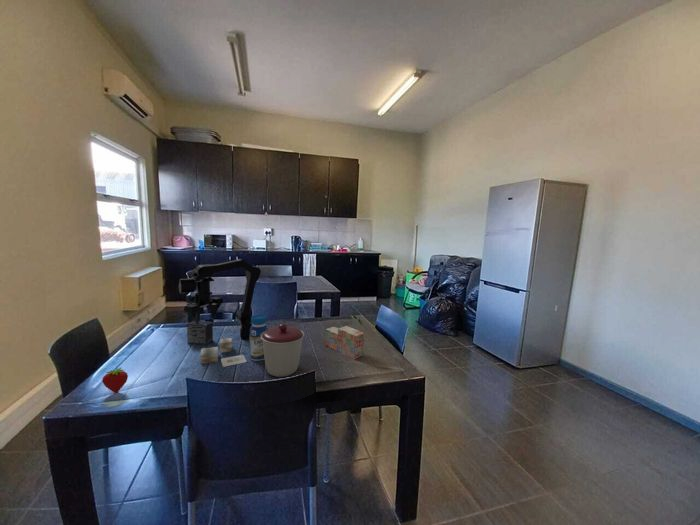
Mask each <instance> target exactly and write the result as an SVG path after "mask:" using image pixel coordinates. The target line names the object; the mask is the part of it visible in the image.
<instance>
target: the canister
mask: <svg viewBox="0 0 700 525" xmlns="http://www.w3.org/2000/svg"><path fill="white" fill-rule="evenodd" d="M304 337H305V332H304V331H303V330H301V329H299V328H297V327H296V326H291V325H287V324H286V323H281V324H279V325H278V326H273V327H270V328H268V330H266V331H264V332H263V333H262V334H261V339H262V341H263V350H264V366H265V370H266V371H267V373H268V374H269V375H271V376H273V377H277V378H279V377H281V378H282V377H288V376H291V375H293V374H294V373H295V372H296V371H297V370H298V368H299V364H300V360H301V359H300V358H301V351H302V346H303V345H302V344H303V338H304Z"/></svg>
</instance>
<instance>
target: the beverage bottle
mask: <svg viewBox="0 0 700 525" xmlns="http://www.w3.org/2000/svg"><path fill="white" fill-rule="evenodd" d="M251 324H252V326H251V328H250V335H249V338H248V339H249V359H250V360H252V361H255V362H258V361H259V362H260V361H265V359H264V350H263V341H262V339H261V334H262V333H263V332H264V331H266V330H268V329H269V328H268V327H267V315H265V314H260V313H259V314H253V315H251Z"/></svg>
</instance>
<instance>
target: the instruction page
mask: <svg viewBox="0 0 700 525" xmlns="http://www.w3.org/2000/svg"><path fill="white" fill-rule="evenodd" d="M220 361H221V362H220V363H221V365H222V367H223V368H225V367H229V366H235V365H240V364H245V363H247V362H248V361H247V359H246V357H245V355H244V354H239V355H235V356H234V355H233V356H229V357H223V358H220Z"/></svg>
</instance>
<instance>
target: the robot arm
mask: <svg viewBox="0 0 700 525" xmlns="http://www.w3.org/2000/svg"><path fill="white" fill-rule="evenodd" d="M238 268H240V269H242V270H243V271H245V278H246V279H245V280H246V284H245V288H244V293H243V299H242V304H241V307H240V309H236V313H235V314H236V315H235V316H234V317H235V318H236V321H237V322H238V324H240V326H241V327H240V328H239V337H240V338H241V340H246V339H249V335H250V328H251V326H252V324H251V317H252V310H251V307H252V302H253V298H254V292H255V288H256V283H258V280H259V279H260V277H261V274H262V270H261V269H260V267H257V266H256V265H252V264H250V263H249V262H247V261H246V260H244V259H241V258H238V259H234V260H230V261H229V260H228V261H226V262H219V263H215V264H208V263H207V264H199V265H197V266H196V267H195V269H194V273H192V275H191V277H190V278H180V279H179V282H178V291H179V294H189V293H194V292H195V291H196V290H197V292H195V293H194V295H193V296H192V295H187V296H185V302H186V305H185V306H184V307H183V312H184V313H187V314H190V315H191V317H192V318H193V321H195V322H196V324H199V321H200V318H201V311H200V309H201V308H204V307H207V306H209V308H210V317H211V319H214V318H215V317H216V314H217V312H218V310H219V308H220V307H221V306H222V304H224V298H222V297H219V296H213V297H211V295H213V292H212V291H211V282H215V279H214V278H212V276H213V275H216V274H217V273H222V272H225V271H230V270H234V269H238ZM188 303H189V304H188Z"/></svg>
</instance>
